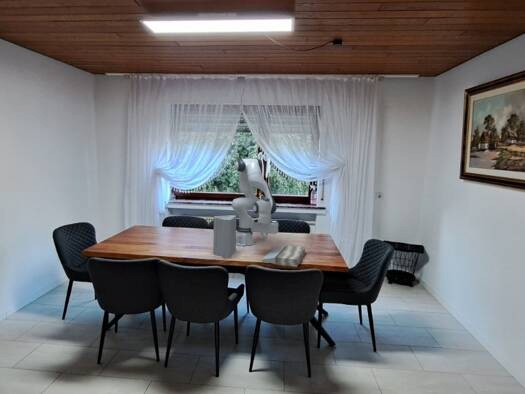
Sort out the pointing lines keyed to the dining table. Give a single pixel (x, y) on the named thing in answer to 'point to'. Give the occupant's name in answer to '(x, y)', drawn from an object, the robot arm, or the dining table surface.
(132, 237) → the dining table surface
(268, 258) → the decorative molding
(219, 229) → the tall grey upright block
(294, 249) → the grey beige flat block
